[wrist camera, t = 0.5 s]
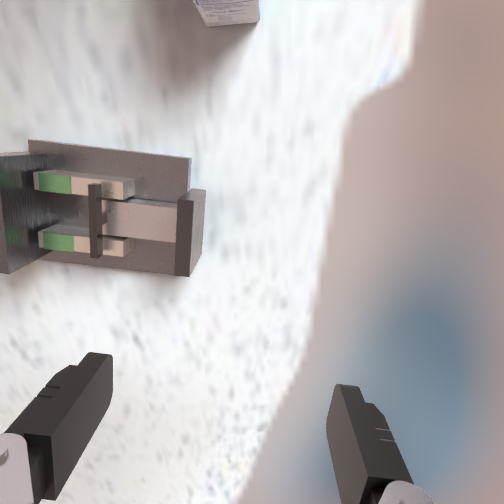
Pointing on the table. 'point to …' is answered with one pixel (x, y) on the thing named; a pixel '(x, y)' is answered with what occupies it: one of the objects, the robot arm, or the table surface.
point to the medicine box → (228, 11)
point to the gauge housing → (81, 204)
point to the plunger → (150, 223)
